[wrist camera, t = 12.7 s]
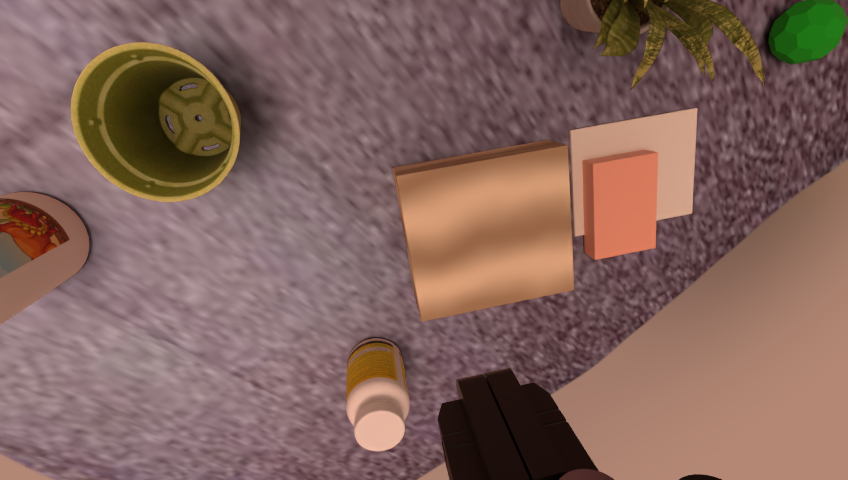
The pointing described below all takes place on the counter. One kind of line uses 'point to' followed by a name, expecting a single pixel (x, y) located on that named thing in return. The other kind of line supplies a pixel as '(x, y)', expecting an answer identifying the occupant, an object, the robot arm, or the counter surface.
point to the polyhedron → (807, 31)
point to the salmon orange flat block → (620, 203)
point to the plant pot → (155, 122)
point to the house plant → (659, 28)
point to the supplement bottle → (377, 394)
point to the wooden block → (487, 227)
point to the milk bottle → (36, 248)
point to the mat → (651, 133)
